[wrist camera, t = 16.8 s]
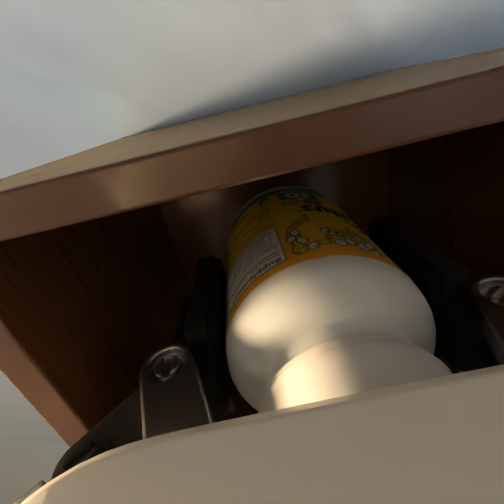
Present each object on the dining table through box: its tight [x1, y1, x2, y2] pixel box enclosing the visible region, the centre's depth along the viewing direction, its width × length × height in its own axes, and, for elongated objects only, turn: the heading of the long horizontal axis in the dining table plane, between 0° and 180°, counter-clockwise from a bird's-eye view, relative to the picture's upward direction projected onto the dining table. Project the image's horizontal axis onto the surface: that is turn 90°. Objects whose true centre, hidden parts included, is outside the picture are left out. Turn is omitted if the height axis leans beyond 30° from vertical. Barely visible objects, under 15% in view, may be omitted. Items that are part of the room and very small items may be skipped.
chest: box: [0, 47, 504, 447], centre depth 14 cm, size 17×15×12 cm
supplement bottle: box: [225, 186, 452, 413], centre depth 9 cm, size 5×5×10 cm
